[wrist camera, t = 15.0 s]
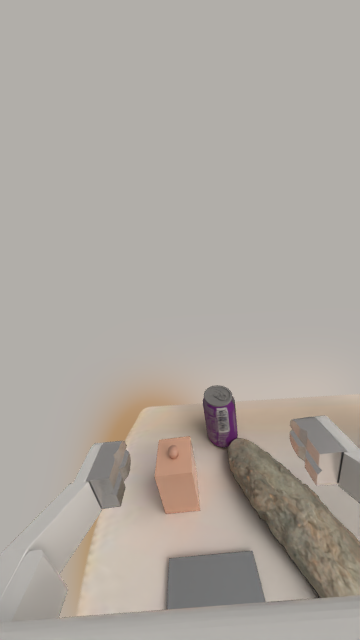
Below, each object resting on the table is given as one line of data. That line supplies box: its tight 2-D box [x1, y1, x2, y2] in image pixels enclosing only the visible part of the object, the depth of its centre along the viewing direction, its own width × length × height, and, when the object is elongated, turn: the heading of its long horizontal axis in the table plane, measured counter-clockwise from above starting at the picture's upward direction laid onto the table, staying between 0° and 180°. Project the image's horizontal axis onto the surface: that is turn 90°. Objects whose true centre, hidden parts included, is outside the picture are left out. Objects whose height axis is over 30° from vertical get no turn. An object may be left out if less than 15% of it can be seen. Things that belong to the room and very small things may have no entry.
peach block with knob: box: [155, 436, 200, 514], centre depth 31 cm, size 6×6×11 cm
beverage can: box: [203, 386, 238, 447], centre depth 40 cm, size 7×7×12 cm
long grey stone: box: [227, 438, 360, 598], centre depth 22 cm, size 35×5×10 cm
